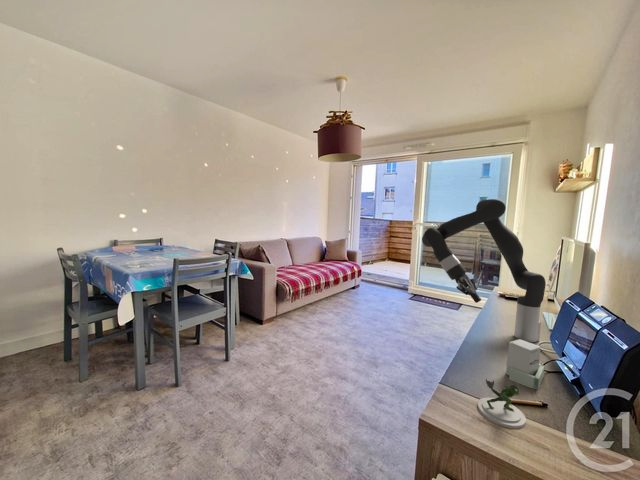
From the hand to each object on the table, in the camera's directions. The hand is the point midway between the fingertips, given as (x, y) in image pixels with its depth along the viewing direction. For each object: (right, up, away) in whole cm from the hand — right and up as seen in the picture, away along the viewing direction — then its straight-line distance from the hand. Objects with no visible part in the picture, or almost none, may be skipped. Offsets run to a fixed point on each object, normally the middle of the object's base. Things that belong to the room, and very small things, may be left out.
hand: (478, 301), depth 116 cm
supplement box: (+8, -25, -14) cm, 30 cm away
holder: (+9, -25, -15) cm, 30 cm away
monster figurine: (-13, -26, -34) cm, 45 cm away
